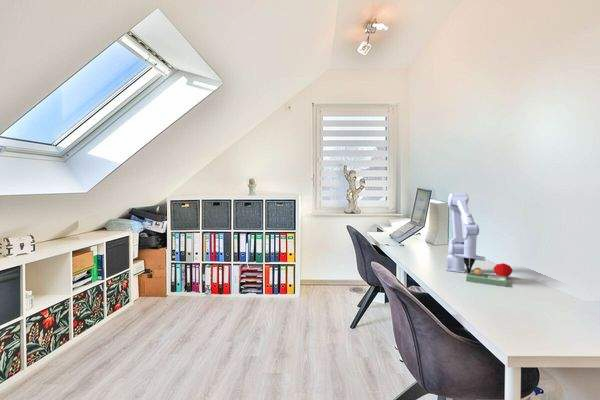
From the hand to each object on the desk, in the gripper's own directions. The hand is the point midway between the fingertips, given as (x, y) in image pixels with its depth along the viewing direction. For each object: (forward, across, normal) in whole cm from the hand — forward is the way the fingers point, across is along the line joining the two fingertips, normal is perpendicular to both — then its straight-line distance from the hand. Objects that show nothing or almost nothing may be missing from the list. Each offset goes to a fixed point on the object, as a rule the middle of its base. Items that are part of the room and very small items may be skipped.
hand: (468, 272), depth 191 cm
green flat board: (+3, +8, 0) cm, 9 cm away
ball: (-1, +4, 0) cm, 4 cm away
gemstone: (+3, +16, +11) cm, 20 cm away
